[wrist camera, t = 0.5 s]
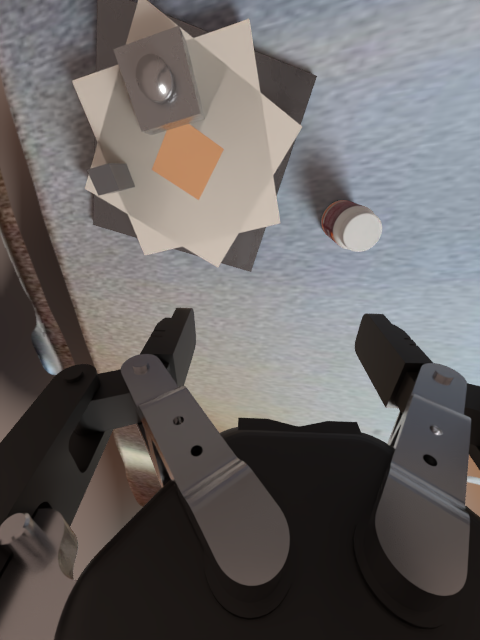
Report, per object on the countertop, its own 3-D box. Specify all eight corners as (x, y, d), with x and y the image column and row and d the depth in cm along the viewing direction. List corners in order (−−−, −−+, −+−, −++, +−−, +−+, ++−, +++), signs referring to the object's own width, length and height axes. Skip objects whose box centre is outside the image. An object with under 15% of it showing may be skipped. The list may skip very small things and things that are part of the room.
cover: (127, 61, 25) (105, 42, 22) (186, 40, 25) (174, 16, 21) (151, 135, 28) (135, 129, 24) (205, 118, 27) (197, 110, 24)
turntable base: (102, -7, 25) (97, -14, 24) (314, 78, 28) (316, 76, 27) (97, 223, 36) (93, 224, 35) (250, 269, 39) (250, 271, 38)
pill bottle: (314, 230, 36) (330, 246, 29) (332, 193, 34) (355, 201, 26) (344, 242, 37) (368, 261, 29) (364, 208, 34) (396, 219, 27)
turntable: (282, -48, 23) (292, -111, 18) (311, 243, 35) (322, 256, 30) (27, 48, 26) (-27, 20, 21) (135, 282, 39) (117, 300, 33)
